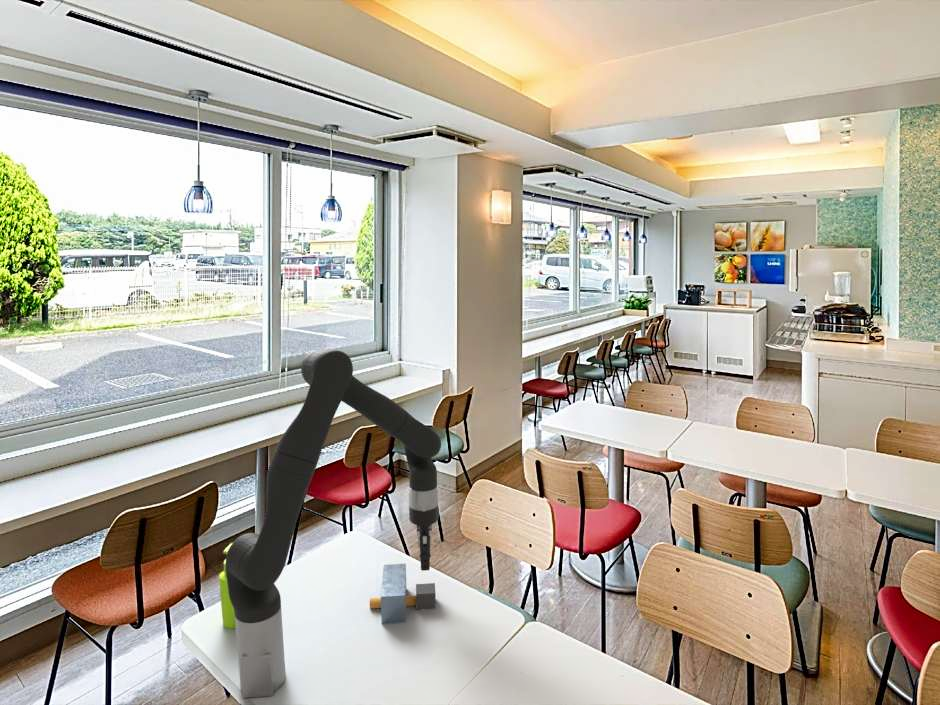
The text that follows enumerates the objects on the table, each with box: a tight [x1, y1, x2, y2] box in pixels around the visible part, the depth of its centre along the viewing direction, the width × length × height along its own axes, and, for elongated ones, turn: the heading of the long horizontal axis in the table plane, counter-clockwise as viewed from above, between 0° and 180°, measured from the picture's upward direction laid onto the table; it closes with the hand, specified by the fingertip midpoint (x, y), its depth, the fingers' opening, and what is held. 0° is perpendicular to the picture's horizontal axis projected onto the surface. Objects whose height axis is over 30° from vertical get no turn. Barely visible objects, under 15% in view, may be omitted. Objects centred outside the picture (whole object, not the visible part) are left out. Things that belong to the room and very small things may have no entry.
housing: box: [380, 563, 407, 625], centre depth 149 cm, size 14×6×8 cm, turn 6°
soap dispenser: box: [218, 541, 236, 630], centre depth 142 cm, size 6×7×20 cm
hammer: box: [369, 582, 437, 611], centre depth 149 cm, size 4×17×4 cm, turn 96°
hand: (424, 560), depth 148 cm, fingers open, 8 cm apart
